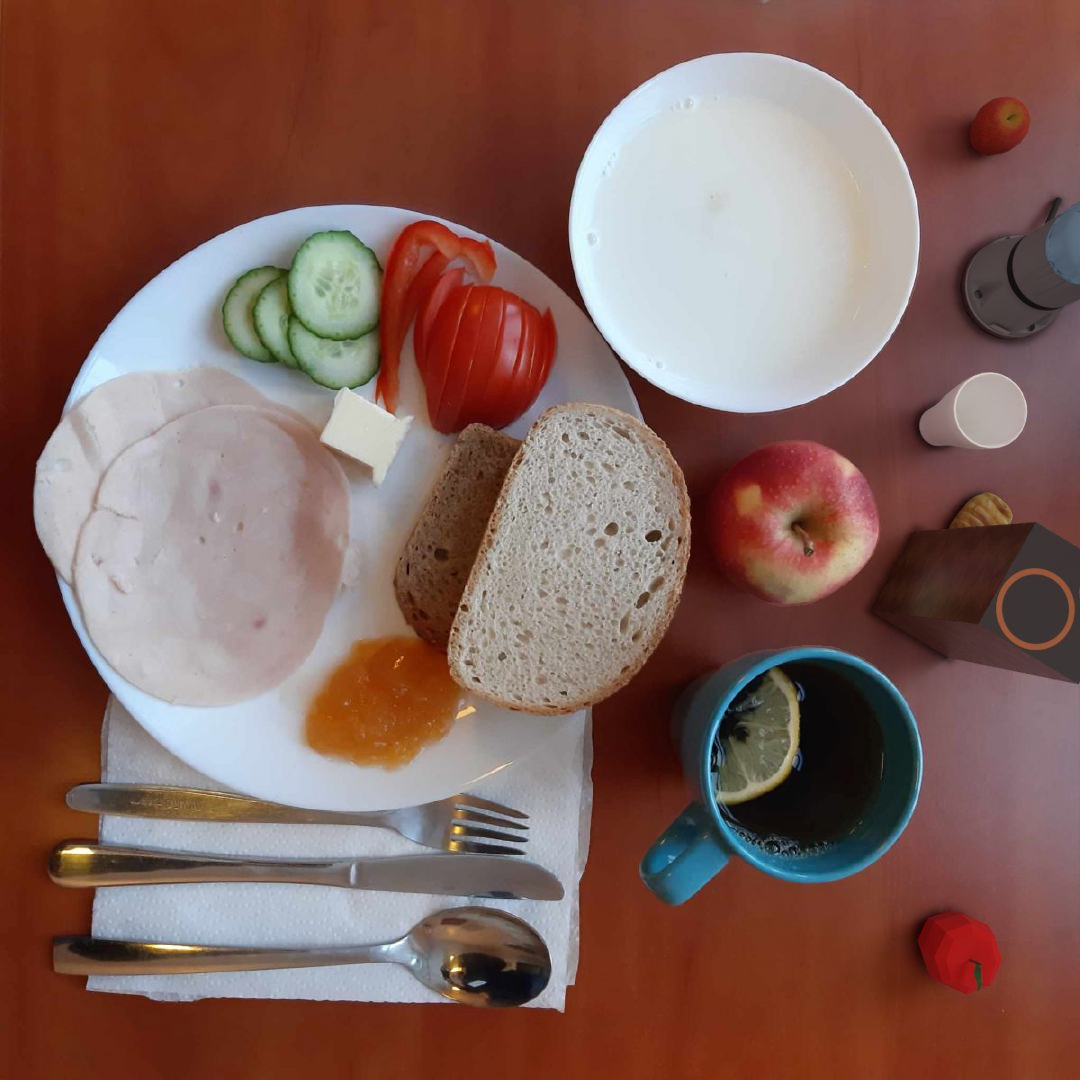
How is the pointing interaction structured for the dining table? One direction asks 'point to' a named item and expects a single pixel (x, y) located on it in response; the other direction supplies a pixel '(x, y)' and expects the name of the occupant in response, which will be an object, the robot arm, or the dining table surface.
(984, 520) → the pastry
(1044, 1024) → the dining table surface
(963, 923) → the apple
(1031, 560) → the hob plate
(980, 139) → the apple
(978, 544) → the stove stand
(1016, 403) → the cup
